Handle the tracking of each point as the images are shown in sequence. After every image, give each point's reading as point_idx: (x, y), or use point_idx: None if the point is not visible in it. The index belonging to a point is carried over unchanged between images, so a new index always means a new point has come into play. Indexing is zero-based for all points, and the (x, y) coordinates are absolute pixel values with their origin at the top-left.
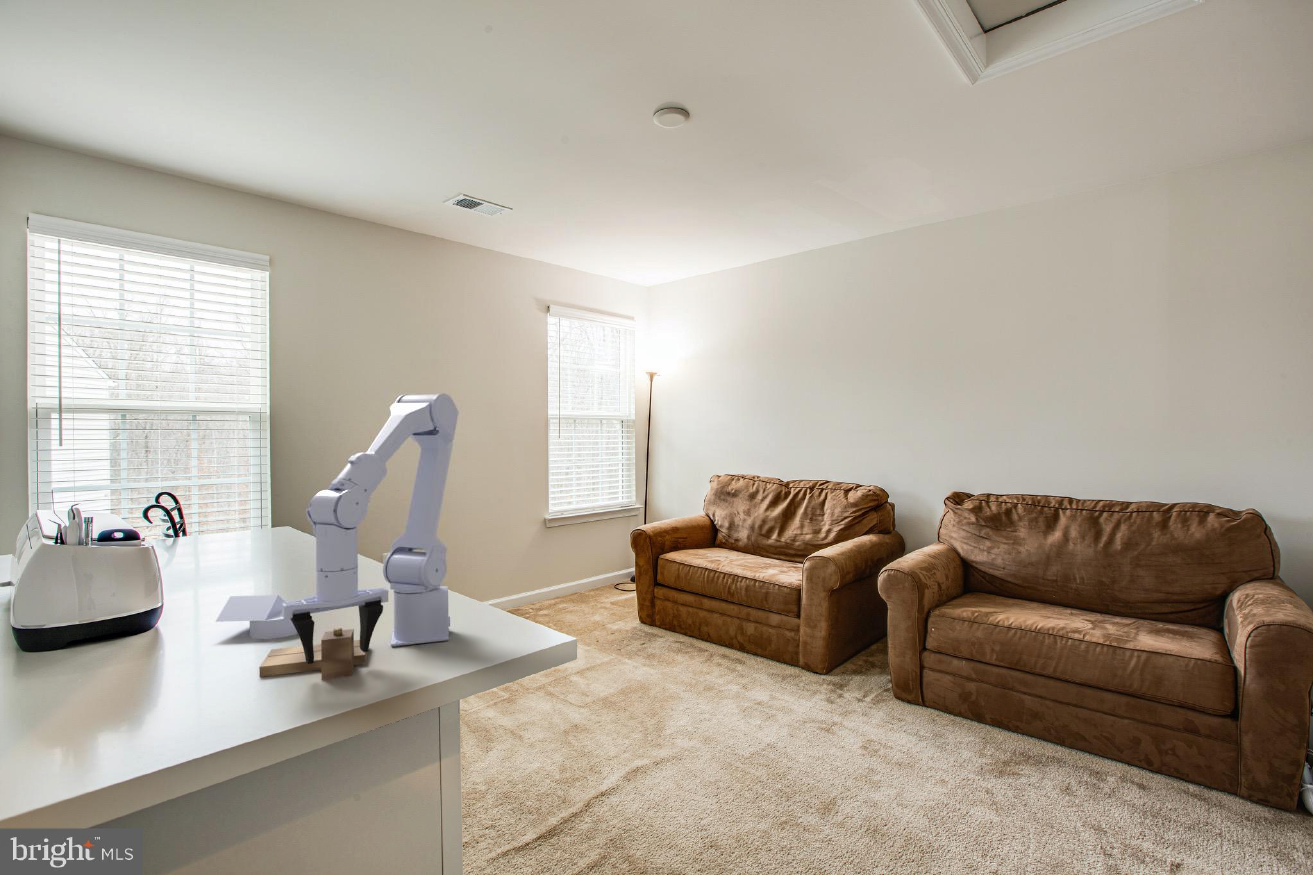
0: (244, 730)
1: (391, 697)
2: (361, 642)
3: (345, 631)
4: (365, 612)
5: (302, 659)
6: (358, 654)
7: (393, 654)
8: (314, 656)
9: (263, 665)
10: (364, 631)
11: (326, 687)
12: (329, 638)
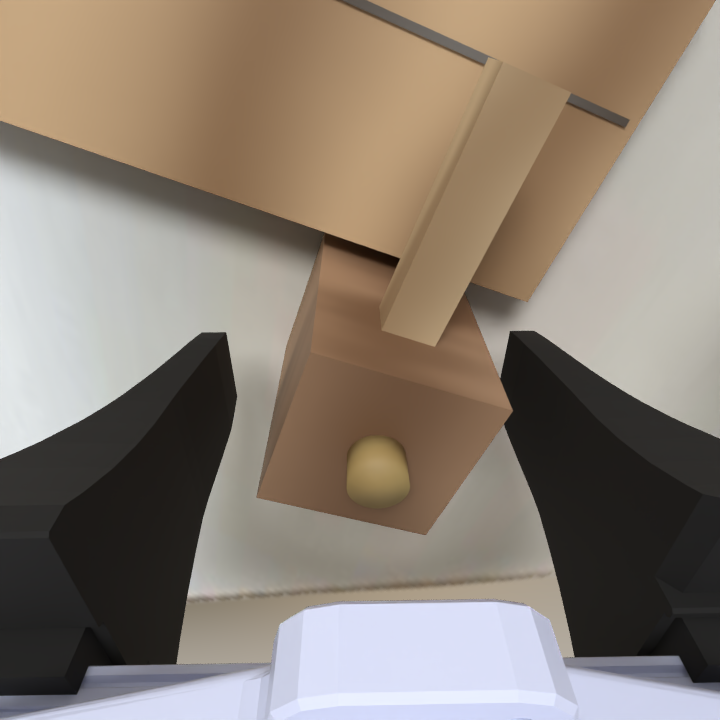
0: None
1: (437, 582)
2: (518, 385)
3: (442, 427)
4: (597, 639)
5: (193, 130)
6: (504, 276)
7: (699, 227)
8: (272, 124)
9: None
10: (543, 479)
11: None
12: (308, 498)
